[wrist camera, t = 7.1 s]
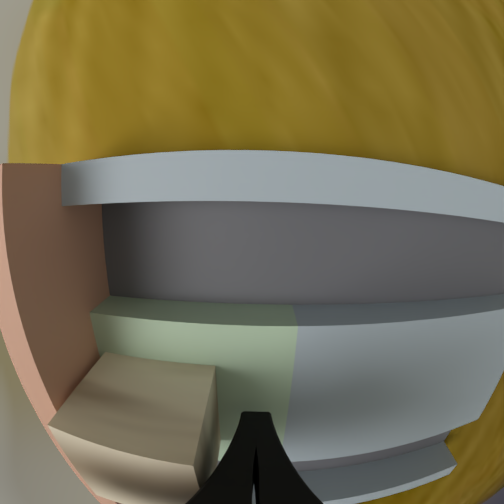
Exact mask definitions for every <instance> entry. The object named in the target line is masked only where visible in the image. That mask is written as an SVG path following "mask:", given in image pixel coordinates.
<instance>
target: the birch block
mask: <svg viewBox="0 0 504 504" xmlns="http://www.w3.org/2000/svg"><path fill="white" fill-rule="evenodd" d="M47 425H48V427H49V429H50V430H51V432H52V434H53V435H54V437H55V439H56V440H57V442H58V443H59V445H60V447H61V448H62V450H63V451H64V453H65V454H66V456H67V457H68V459H69V460H70V461H71V463H72V464H73V466H74V467H75V468H76V470H77V471H78V472H79V474H80V475H81V476H82V478H83V479H84V480H85V482H86V483H87V484H88V485H89V487H90V488H91V489H92V490H93V492H94V493H95V494H96V495H98V496H100V497H103V498H106V499H109V500H112V501H115V502H118V503H121V504H185V503H186V502H187V501H189V500H190V499H191V498H192V497H193V496H194V495H195V493H196V492H197V491H198V490H199V489H200V488H201V487H202V486H203V484H204V483H205V482H206V481H207V479H208V478H209V477H210V476H211V474H212V473H213V471H214V470H215V469H216V467H217V463H218V456H219V449H220V442H221V438H220V426H219V413H218V399H217V384H216V368H215V366H213V365H199V364H188V363H178V362H169V361H161V360H153V359H146V358H139V357H132V356H126V355H120V354H114V353H109V352H105V353H104V354H103V355H102V356H101V358H100V359H99V360H98V361H97V362H96V364H95V365H94V366H93V367H92V369H91V370H90V371H89V372H88V373H87V375H86V376H85V377H84V378H83V380H82V381H81V382H80V383H79V385H78V386H77V387H76V388H75V390H74V391H73V392H72V393H71V395H70V396H69V397H68V398H67V400H66V401H65V402H64V404H63V405H62V406H61V407H60V409H59V410H58V411H57V413H56V414H55V415H54V417H53V418H52V419H51V421H50V422H49V423H48V424H47Z"/></svg>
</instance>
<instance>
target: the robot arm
mask: <svg viewBox="0 0 504 504" xmlns="http://www.w3.org/2000/svg"><path fill="white" fill-rule="evenodd" d="M253 486H254V489H255V499H256V504H323V502H322V501H321V500H320V499H319V498H318V497H317V496H316V495H315V494H314V493H313V492H312V491H311V489H310V488H309V487H308V486H307V485H306V483H305V482H304V481H303V479H302V478H301V477H300V475H299V474H298V472H297V471H296V469H295V468H294V466H293V464H292V463H291V461H290V459H289V457H288V456H287V454H286V452H285V450H284V448H283V446H282V444H281V442H280V439H279V437H278V435H277V432H276V430H275V427H274V424H273V420H272V416H271V413H270V412H256V411H243V412H242V413H241V416H240V420H239V424H238V427H237V429H236V432H235V434H234V437H233V439H232V441H231V443H230V445H229V447H228V449H227V451H226V452H225V454H224V456H223V457H222V459H221V461H220V462H219V464H218V466H217V467H216V469H215V470H214V471H213V473H212V474H211V476H210V477H209V478H208V479H207V481H206V482H205V483H204V484H203V486H202V487H201V488H200V489H199V490H198V491H197V492H196V493H195V495H194V496H193V497H192V498H191V499H190V500H189V501H187V502H186V503H185V504H252V493H253Z"/></svg>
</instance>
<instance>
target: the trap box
mask: <svg viewBox="0 0 504 504" xmlns="http://www.w3.org/2000/svg"><path fill="white" fill-rule="evenodd" d="M0 329H1V332H2V335H3V338H4V341H5V344H6V346H7V349H8V352H9V354H10V357H11V360H12V362H13V365H14V367H15V370H16V372H17V374H18V377H19V379H20V381H21V383H22V386H23V388H24V390H25V392H26V394H27V396H28V398H29V400H30V402H31V404H32V406H33V408H34V410H35V412H36V413H37V415H38V417H39V419H40V420H41V422H42V424H43V426H44V428H45V429H46V431H47V432H48V434H49V435H50V437H51V439H52V441H53V442H54V444H55V445H56V447H57V448H58V450H59V451H60V453H61V454H62V456H63V457H64V459H65V460H66V461H67V463H68V464H69V466H70V467H71V468H72V470H73V471H74V472H75V473H76V475H77V476H78V477H79V479H80V480H81V481H82V482H83V484H84V485H85V486H86V487H87V489H88V490H89V491H90V492H91V493H92V495H93V496H94V497H95V498H96V499H97V500H98V501H99V503H100V504H121V503H118V502H115V501H112V500H109V499H106V498H103V497H100V496H98V495H96V494H95V493H94V492H93V490H92V489H91V488H90V487H89V485H88V484H87V483H86V482H85V480H84V479H83V478H82V476H81V475H80V474H79V472H78V471H77V470H76V468H75V467H74V466H73V464H72V463H71V461H70V460H69V459H68V457H67V456H66V454H65V453H64V451H63V450H62V448H61V447H60V445H59V443H58V442H57V440H56V439H55V437H54V435H53V434H52V432H51V430H50V429H49V427H48V425H47V424H48V423H49V422H50V421H51V419H52V418H53V417H54V415H55V414H56V413H57V411H58V410H59V409H60V407H61V406H62V405H63V404H64V402H65V401H66V400H67V398H68V397H69V396H70V395H71V393H72V392H73V391H74V390H75V388H76V387H77V386H78V385H79V383H80V382H81V381H82V380H83V378H84V377H85V376H86V375H87V373H88V372H89V371H90V370H91V369H92V367H93V366H94V365H95V364H96V362H97V361H98V360H99V359H100V358H101V356H102V355H103V354H104V353H105V352H109V353H114V354H120V355H126V356H132V357H139V358H146V359H153V360H161V361H169V362H178V363H188V364H199V365H213V366H215V368H216V384H217V399H218V413H219V426H220V438H221V442H220V449H219V456H218V463H217V466H218V464H219V462H220V461H221V459H222V457H223V456H224V454H225V452H226V451H227V449H228V447H229V445H230V443H231V441H232V439H233V437H234V434H235V432H236V429H237V427H238V424H239V420H240V416H241V413H242V412H243V411H256V412H270V413H271V416H272V420H273V424H274V427H275V430H276V432H277V435H278V437H279V439H280V442H281V444H282V446H283V448H284V450H285V452H286V454H287V456H288V457H289V459H290V461H291V463H292V464H293V466H294V468H295V469H296V471H297V472H298V474H299V475H300V477H301V478H302V479H303V481H304V482H305V483H306V485H307V486H308V487H309V488H310V489H311V491H312V492H313V493H314V494H315V495H316V496H317V497H318V498H319V499H320V500H321V501H322V502H323V504H355V503H360V502H365V501H369V500H373V499H377V498H381V497H385V496H389V495H392V494H396V493H399V492H402V491H406V490H409V489H412V488H415V487H418V486H420V485H423V484H426V483H428V482H431V481H434V480H436V479H439V478H441V477H443V476H446V475H448V474H450V472H451V471H452V470H453V469H454V468H455V466H456V465H457V463H456V461H455V459H454V458H453V456H452V454H451V453H450V451H449V449H448V447H447V446H446V444H445V442H444V440H445V439H446V437H447V435H448V434H449V432H450V431H451V430H452V429H455V428H457V427H460V426H462V425H465V424H467V423H470V422H472V421H474V420H477V419H478V418H479V417H480V415H481V413H482V411H483V410H484V408H485V406H486V404H487V403H488V401H489V399H490V397H491V395H492V393H493V391H494V389H495V388H496V386H497V383H498V381H499V379H500V377H501V375H502V373H503V371H504V186H501V185H497V184H494V183H490V182H487V181H483V180H479V179H475V178H471V177H467V176H463V175H459V174H454V173H450V172H445V171H440V170H436V169H430V168H425V167H420V166H414V165H409V164H403V163H396V162H390V161H383V160H376V159H368V158H360V157H351V156H342V155H331V154H320V153H306V152H289V151H263V150H204V151H179V152H162V153H148V154H137V155H126V156H117V157H109V158H101V159H93V160H86V161H79V162H73V163H67V164H25V163H5V164H4V163H3V164H0ZM252 504H256V499H255V489H254V486H253V493H252Z"/></svg>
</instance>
